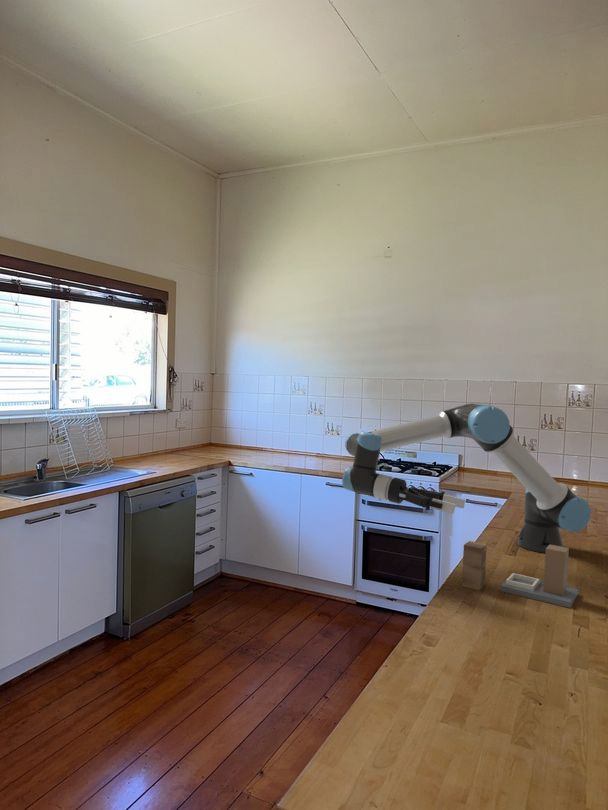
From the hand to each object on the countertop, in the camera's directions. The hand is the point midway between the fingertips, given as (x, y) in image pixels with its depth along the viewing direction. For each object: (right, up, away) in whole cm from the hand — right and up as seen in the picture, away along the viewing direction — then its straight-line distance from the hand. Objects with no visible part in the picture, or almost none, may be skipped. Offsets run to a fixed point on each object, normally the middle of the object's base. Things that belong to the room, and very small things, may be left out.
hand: (459, 506), depth 163 cm
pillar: (+3, -22, -3) cm, 23 cm away
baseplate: (+21, -23, -6) cm, 32 cm away
